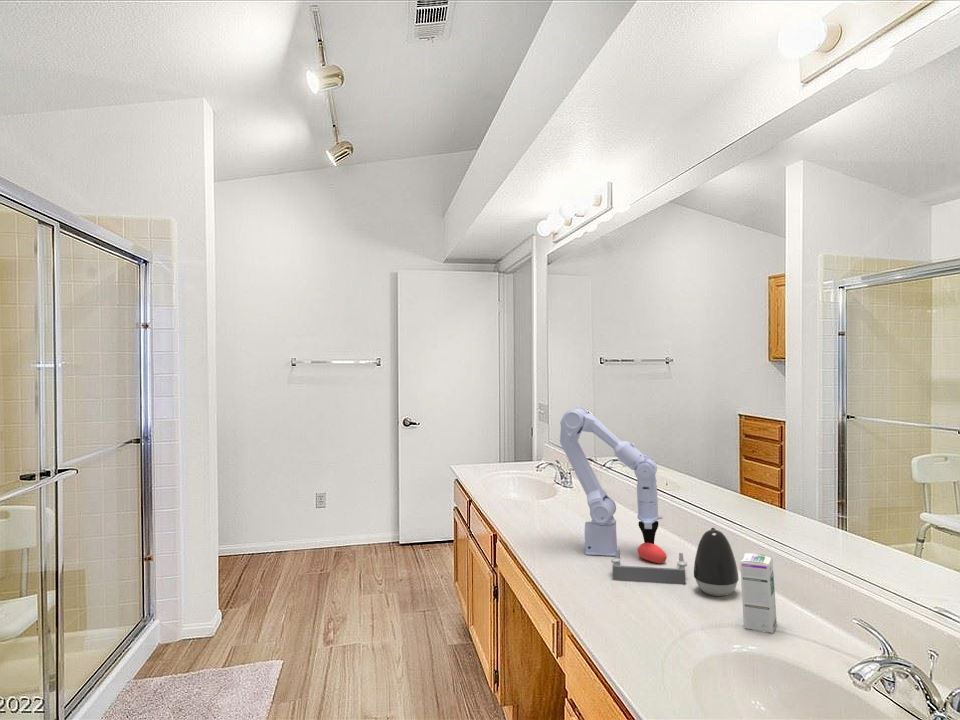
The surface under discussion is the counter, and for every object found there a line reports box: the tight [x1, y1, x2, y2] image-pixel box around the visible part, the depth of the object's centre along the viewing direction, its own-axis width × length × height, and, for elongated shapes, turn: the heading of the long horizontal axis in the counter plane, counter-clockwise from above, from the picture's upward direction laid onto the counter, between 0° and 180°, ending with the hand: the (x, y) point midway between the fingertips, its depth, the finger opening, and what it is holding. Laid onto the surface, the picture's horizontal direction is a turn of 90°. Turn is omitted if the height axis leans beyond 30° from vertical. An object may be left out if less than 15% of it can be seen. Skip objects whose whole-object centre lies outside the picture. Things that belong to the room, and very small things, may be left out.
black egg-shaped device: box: [693, 527, 739, 597], centre depth 147 cm, size 10×10×15 cm
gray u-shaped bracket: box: [610, 549, 688, 585], centre depth 162 cm, size 19×14×4 cm
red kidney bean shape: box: [637, 542, 667, 564], centre depth 172 cm, size 5×9×6 cm, turn 18°
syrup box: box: [739, 552, 778, 634], centre depth 128 cm, size 6×6×14 cm
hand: (649, 547), depth 176 cm, fingers closed
